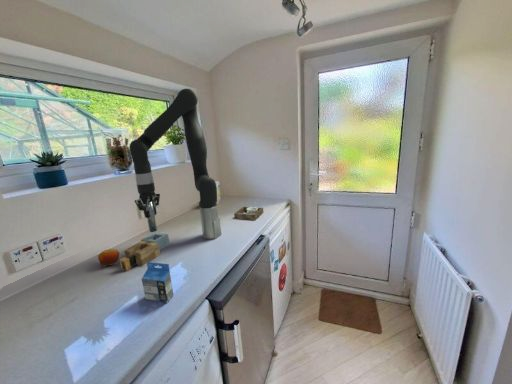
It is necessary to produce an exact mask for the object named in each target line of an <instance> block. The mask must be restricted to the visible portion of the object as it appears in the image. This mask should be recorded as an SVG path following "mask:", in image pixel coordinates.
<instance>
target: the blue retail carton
mask: <svg viewBox="0 0 512 384" xmlns="http://www.w3.org/2000/svg"><path fill="white" fill-rule="evenodd" d="M146 265H147V269H146V271H145V272H144V274H143V275H142V277H141V283H142V288H143V292H144V298H145V300H146V301H154V302H162V303H167V302H168V301H169V300H170V299H172V298H173V297H174V290H173V283H172V278H171V271H170V266H169V265H170V264H169V263H159V262H152V261H149V262H147V263H146ZM170 301H171V300H170ZM170 301H169V302H170ZM169 302H168V303H169Z"/></svg>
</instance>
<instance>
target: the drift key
mask: <svg viewBox="0 0 512 384" xmlns="http://www.w3.org/2000/svg"><path fill="white" fill-rule="evenodd" d="M119 263H120V266H121V270H123V271H126V272H128V271H129V270H130V269H131V268H132V267H134V266H135V265H137V262H136V257H135V253H134V254H133V255H131V256H129V257H128V258H125V257H122V258H120V259H119Z"/></svg>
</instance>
